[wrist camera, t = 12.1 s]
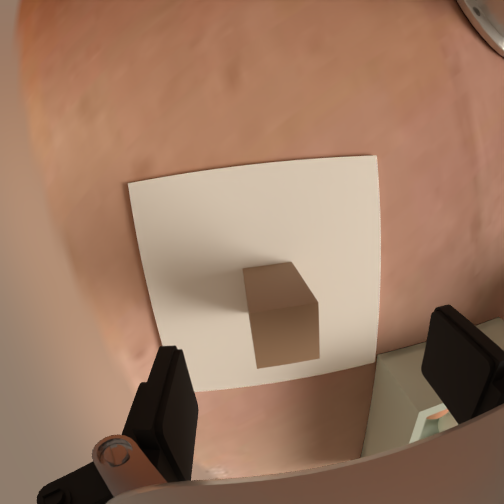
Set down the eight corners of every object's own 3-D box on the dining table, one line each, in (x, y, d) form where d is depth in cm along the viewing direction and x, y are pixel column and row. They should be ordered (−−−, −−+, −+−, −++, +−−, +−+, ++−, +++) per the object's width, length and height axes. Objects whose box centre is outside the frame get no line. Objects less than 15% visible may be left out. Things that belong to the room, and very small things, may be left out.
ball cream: (436, 404, 24) (454, 427, 20) (463, 393, 24) (482, 414, 20) (428, 428, 25) (443, 451, 21) (455, 417, 25) (470, 438, 21)
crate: (377, 354, 22) (419, 412, 15) (498, 317, 23) (545, 350, 16) (360, 459, 26) (381, 509, 19) (465, 419, 27) (494, 456, 20)
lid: (132, 182, 18) (85, 192, 11) (369, 155, 19) (432, 155, 12) (178, 385, 22) (167, 453, 16) (370, 355, 23) (409, 411, 16)
